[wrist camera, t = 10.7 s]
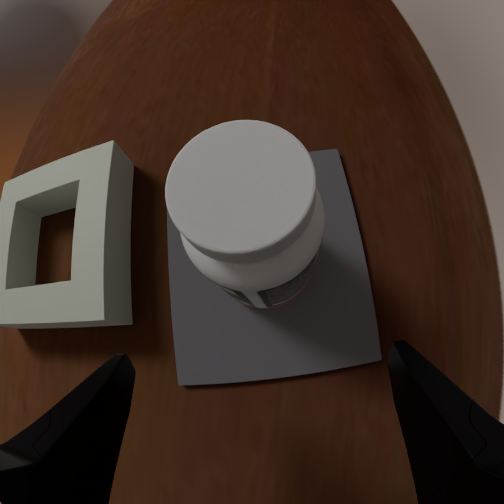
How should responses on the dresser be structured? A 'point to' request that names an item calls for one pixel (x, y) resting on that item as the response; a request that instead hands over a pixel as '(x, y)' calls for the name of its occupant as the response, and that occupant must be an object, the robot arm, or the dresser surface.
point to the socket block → (84, 242)
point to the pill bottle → (248, 210)
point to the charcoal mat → (281, 317)
